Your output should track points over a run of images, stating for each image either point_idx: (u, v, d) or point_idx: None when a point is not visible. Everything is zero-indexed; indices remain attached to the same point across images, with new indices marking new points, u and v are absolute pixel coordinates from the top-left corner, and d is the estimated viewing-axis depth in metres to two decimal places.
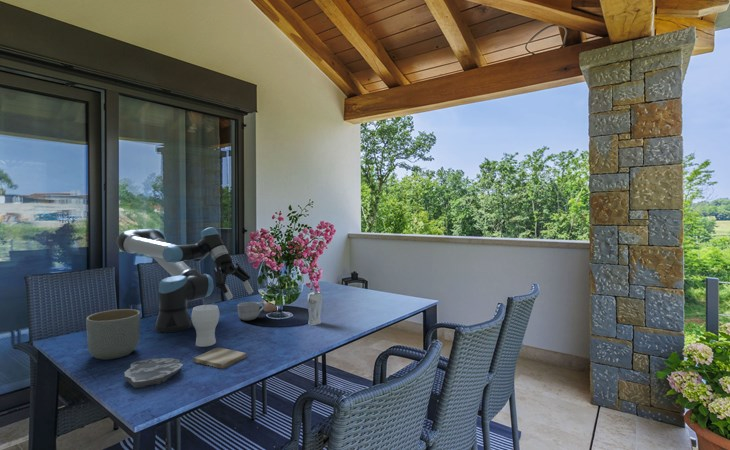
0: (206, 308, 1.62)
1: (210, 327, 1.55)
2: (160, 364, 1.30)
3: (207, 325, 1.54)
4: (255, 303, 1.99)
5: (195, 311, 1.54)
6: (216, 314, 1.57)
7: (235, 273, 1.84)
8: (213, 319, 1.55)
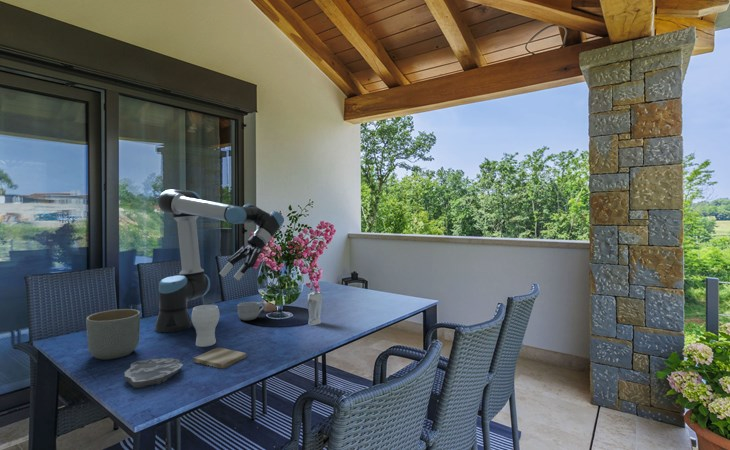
0: (206, 308, 1.62)
1: (210, 327, 1.55)
2: (160, 364, 1.30)
3: (207, 325, 1.54)
4: (255, 303, 1.99)
5: (195, 311, 1.54)
6: (216, 314, 1.57)
7: (242, 255, 1.73)
8: (213, 319, 1.55)
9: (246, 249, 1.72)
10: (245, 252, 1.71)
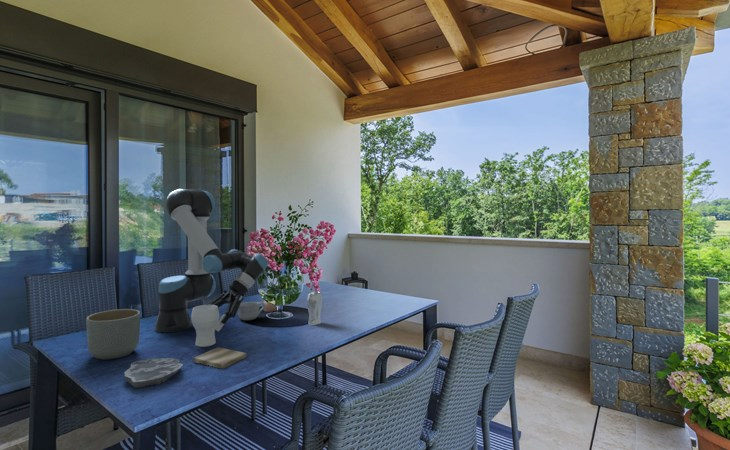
0: (206, 308, 1.62)
1: (210, 327, 1.55)
2: (160, 364, 1.30)
3: (207, 325, 1.54)
4: (255, 303, 1.99)
5: (195, 311, 1.54)
6: (216, 314, 1.57)
7: (223, 301, 1.66)
8: (213, 319, 1.55)
9: (228, 295, 1.65)
10: (226, 298, 1.64)
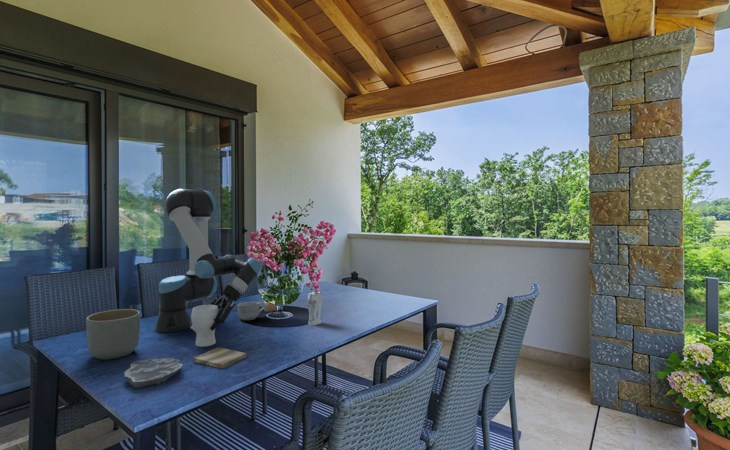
0: (206, 308, 1.62)
1: None
2: (160, 364, 1.30)
3: (207, 325, 1.54)
4: (255, 303, 1.99)
5: (195, 311, 1.54)
6: (216, 314, 1.57)
7: None
8: None
9: (220, 300, 1.63)
10: (219, 303, 1.62)
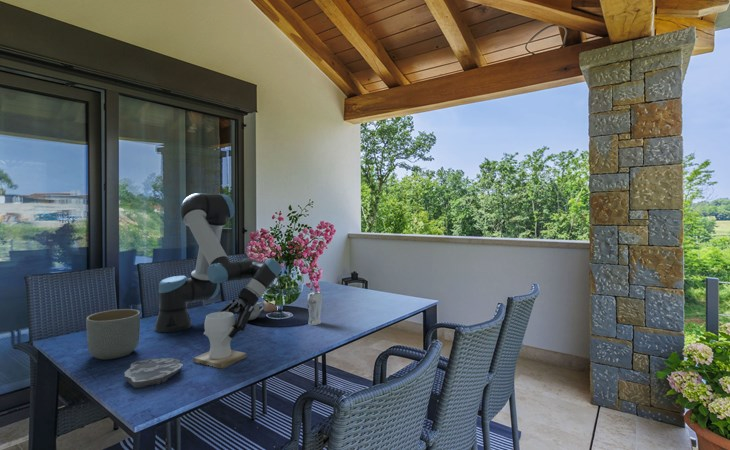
0: (220, 315, 1.46)
1: None
2: (160, 364, 1.30)
3: (222, 335, 1.38)
4: None
5: (209, 319, 1.37)
6: (232, 322, 1.40)
7: None
8: (229, 328, 1.39)
9: (236, 305, 1.47)
10: (235, 309, 1.46)
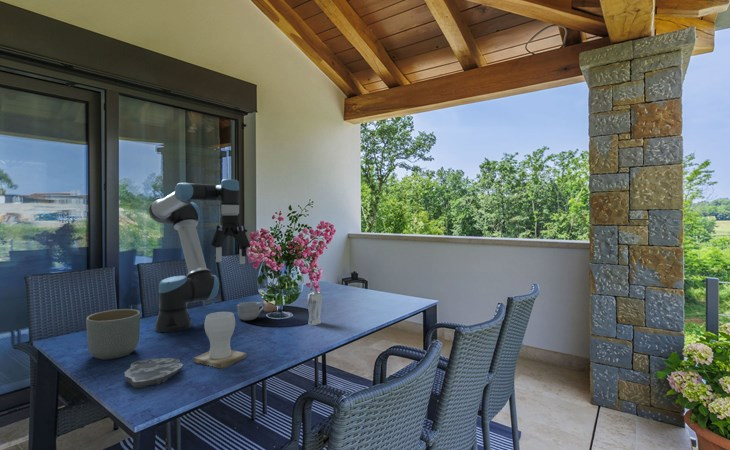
0: (220, 315, 1.46)
1: (226, 337, 1.39)
2: (160, 364, 1.30)
3: (222, 335, 1.38)
4: (255, 303, 1.99)
5: (209, 319, 1.37)
6: (232, 322, 1.40)
7: (224, 236, 1.71)
8: (229, 328, 1.39)
9: (226, 230, 1.69)
10: (228, 234, 1.69)
